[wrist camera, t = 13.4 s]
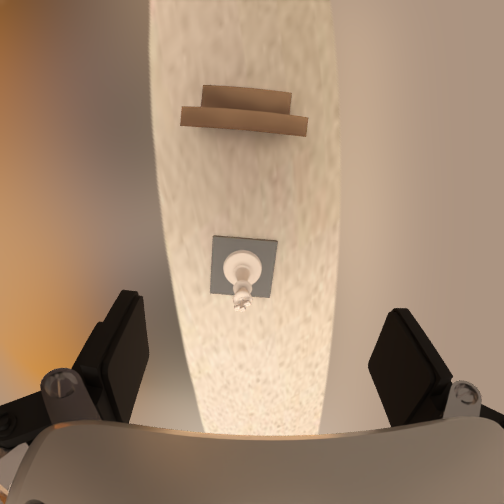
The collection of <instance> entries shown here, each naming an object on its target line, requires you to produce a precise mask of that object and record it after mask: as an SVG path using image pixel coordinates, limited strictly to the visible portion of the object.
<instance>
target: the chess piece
mask: <svg viewBox="0 0 504 504" xmlns="http://www.w3.org/2000/svg"><path fill="white" fill-rule="evenodd" d="M223 270H224V274H225V277H226V278H227V280H228V281H229V282H230V283H232V284H233V285H234V286H233V291H234V293H235V295H234V297H233V302H234V304H235V306H234V308H235V310H236V311H238V310H241V312H243V311H246V307H247V306H249V305H251V302H252V296H251V294H250V293H251V292H252V284H254V283H255V282H256V281H257V280H258V279H259V277H260V275H261V271H262V264H261V261H260V259H259V258H258V256H257V255H255V254H254V253H252V252H250V251H247V250H238V251H235V252H233V253H231V254H230V255H229V256H228V257H227V258H226V259H225V261H224V265H223Z"/></svg>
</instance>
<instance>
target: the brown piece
mask: <svg viewBox="0 0 504 504" xmlns="http://www.w3.org/2000/svg"><path fill="white" fill-rule="evenodd" d="M291 94H292V93H288V92H280V91H272V90H263V89H254V88H243V87H229V86H212V85H203V93H202V103H201V107H183V106H182V111H181V123H180V126H192V127H209V128H225V129H238V130H249V131H259V132H269V133H278V134H286V135H295V136H303V137H306V132H307V124H308V118H307V117H301V116H294V115H289V113H290V103H291Z"/></svg>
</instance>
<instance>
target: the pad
mask: <svg viewBox="0 0 504 504" xmlns="http://www.w3.org/2000/svg"><path fill="white" fill-rule="evenodd" d="M238 250H247V251H250V252H252V253H254V254H255V255H257V256H258V258H259V259H260V261H261V264H262V271H261V275H260V277H259V279H258V280H257V281H256V282H255V283H254V284H252V292H251V293H250V294H251V296H252V297H266V298H270V293H271V286H272V279H273V272H274V264H275V257H276V250H277V241H273V240H261V239H250V238H237V237H225V236H213V247H212V265H211V286H210V293H213V294H225V295H235V293H234V291H233V286H234V285H233V284H232V283H230V282H229V281H228V280H227V278H226V277H225V274H224V270H223V265H224V261H225V259H226V258H227V257H228V256H229V255H230V254H231V253H233V252H235V251H238Z"/></svg>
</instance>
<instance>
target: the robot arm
mask: <svg viewBox="0 0 504 504" xmlns="http://www.w3.org/2000/svg"><path fill="white" fill-rule="evenodd" d="M148 358H149V347H148V339H147V331H146V322H145V312H144V302H143V297H142V296H139V295H138V292H137V291H129V290H122V291H121V292H120V294H119V296H118V298H117V299H116V301H115V302H114V304H113V306H112V308H111V309H110V311H109V313H108V314H107V316H106V318H105V320H104V321H103V322H98V323H97V324H96V326H95V327H94V329H93V331H92V333H91V335H90V336H89V338H88V340H87V341H86V343H85V345H84V347H83V349H82V350H81V352H80V354H79V356H78V357H77V359H76V361H75V363H74V365H73V367H72V369H68V368H58V369H54V370H52V371H50V372H49V373H47V374H46V375H45V376H44V377H43V379H42V381H41V384H40V388H41V391H39V392H36V393H33V394H31V395H28V396H26V397H23V398H20V399H17V400H15V401H12V402H9V403H6V404H4V405H1V406H0V504H504V415H503V414H501V413H499V412H497V411H495V410H493V409H490V408H488V407H486V406H484V405H482V404H481V401H482V399H481V394H480V391H479V390H478V389H477V387H475V386H474V385H473V384H471V383H469V382H467V381H460V380H459V381H456V382H454V383H453V384H452V382H451V379H452V377H453V375H452V374H451V372H450V371H449V369H448V367H447V366H446V365H445V363H444V361H443V360H442V358H441V357H440V355H439V354H438V352H437V350H436V349H435V347H434V346H433V344H432V343H431V341H430V340H429V339H428V337H427V336H426V334H425V332H424V331H423V330H422V328H421V327H420V325H419V324H418V322H417V321H416V319H415V318H414V317H413V315H412V314H411V312H410V311H409V310H408V309H407V308H394V309H393V310H392V311H391V312H389V313H388V315H387V318H386V320H385V323H384V325H383V328H382V331H381V333H380V336H379V338H378V341H377V343H376V346H375V348H374V350H373V353H372V355H371V357H370V360H369V363H368V369H369V372H370V374H371V376H372V379H373V381H374V384H375V386H376V389H377V392H378V394H379V397H380V399H381V402H382V404H383V407H384V409H385V412H386V415H387V417H388V420H389V422H390V425H391V427H390V428H383V429H376V430H368V431H358V432H348V433H336V434H321V435H297V436H253V435H228V434H213V433H201V432H191V431H182V430H172V429H164V428H157V427H149V426H143V425H136V424H129V420H130V417H131V413H132V410H133V407H134V404H135V400H136V397H137V394H138V390H139V387H140V384H141V381H142V377H143V374H144V371H145V368H146V365H147V362H148ZM11 483H12V485H11V487H10V491H9V493H8V489H9V485H10V484H11Z"/></svg>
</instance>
